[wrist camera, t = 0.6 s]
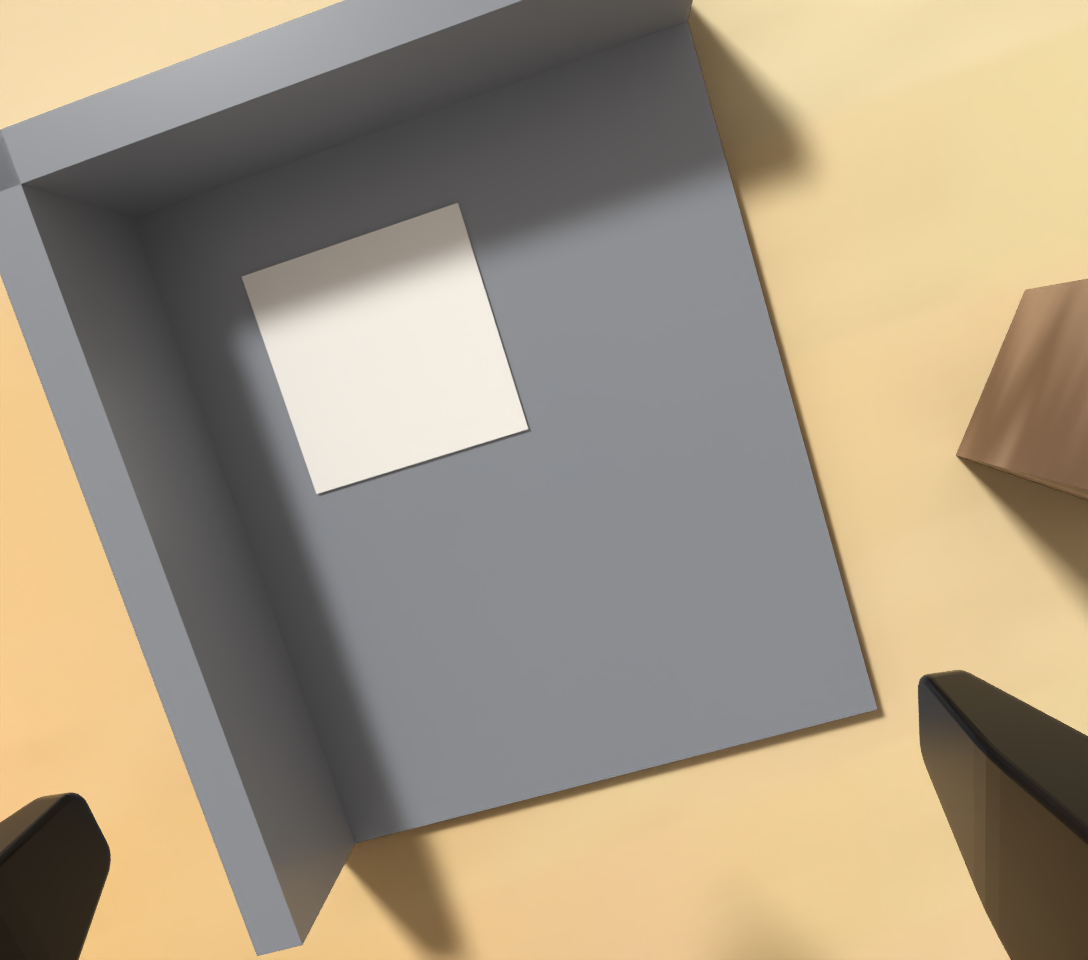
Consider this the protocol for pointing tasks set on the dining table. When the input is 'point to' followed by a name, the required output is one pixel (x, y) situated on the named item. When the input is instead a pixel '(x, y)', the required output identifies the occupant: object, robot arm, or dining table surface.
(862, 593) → the dining table surface
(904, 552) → the dining table surface
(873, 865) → the dining table surface
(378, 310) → the tray
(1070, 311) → the walnut column
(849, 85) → the dining table surface
